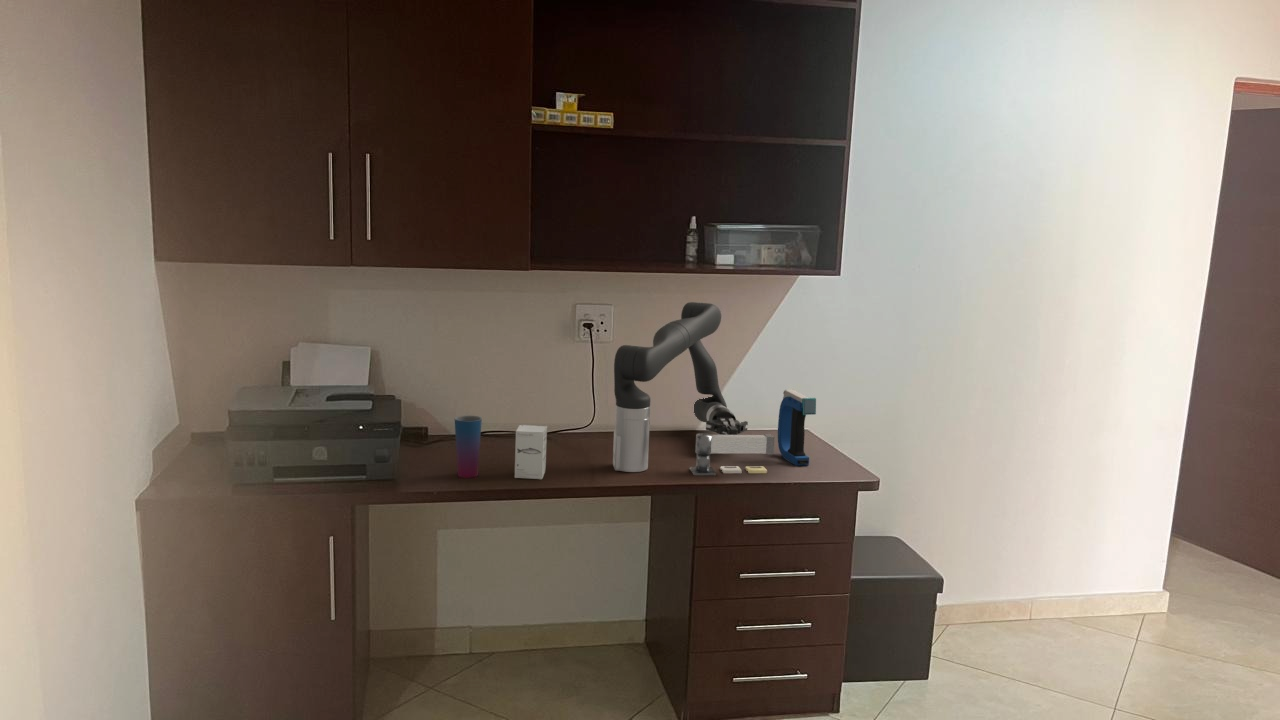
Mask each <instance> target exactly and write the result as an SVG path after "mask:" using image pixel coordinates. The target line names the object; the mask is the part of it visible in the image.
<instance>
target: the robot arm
mask: <svg viewBox="0 0 1280 720" xmlns="http://www.w3.org/2000/svg"><path fill="white" fill-rule="evenodd" d="M721 322H722V313H721V309H720V308H719V307H718V306H717V305H716V304H713V303H709V302H708V303H707V302H694V301H692V302H691V301H689V302H686V303H685V304H684V305H683V307H682V310H681V314H680V319H676V320H672V321H670V322H668V323H666V324H665V325H663V326H662V327H660V328H659V329H657V330H656V332H655V333H654V336H653V339H652V340H653V341H652V346H638V345H628V344H625V345H620V347H618V349H617V350H616V352H615V355H614V360H613V361H614V364H613V373H614V374H613V378H614V387H613V388H614V390H613V391H614V397H615V416H614V417H615V418H614V419H615V420H614V421H615V422H614V431H613V443H612V444H613V446H612V447H613V449H612V466H613V469H614V470H615V471H620V472H626V473H640V472H644V471H647V470H648V468H649V467H648V466H649V449H650V448H649V447H650V445H649V443H650V419H651V418H650V417H651V396H650V394H648V393H646V392H645V391H643V390H641V389H640V388H639V387H638V386H637V385H636V383H635V382H639V383H646V382H647V383H648V382H650V381H652V380H653V379H655V377H657V376H658V374H659V373H661V371H662V370H663V369H664V368H665V367H666V366H667V365H668V364H669V363H670V362H672V361H673V360H674V359H676V358H677V357H679V356H680V355H681V354H683V353H684V352H685V351H686V350H687V349H688V352H689V354H690V357H691V361H692V365H693V372H694V379H695V388H696V391H697V393H699V394H701V395H707V397H708V398H705V399H704V397H702V398H703V399H700V398H698V399H699V400H697V399H696V400H697V401H696V400H695V401H696V402H695V401H694V402H695V404H694V403H693V404H694V412H693V414H694V413H695V414H694V417H695V418H696V417H697V418H696V419H697V420H699V422H703V423H705V430H706V431H710V432H714V433H716V434H717V435H740V434H742V433H745V432H747V431H748V428H749V427H748V425H749V424H748V423H749V421H745V420H744V421H739V420H738V419H737V418H736V416H735V415H734V413H733V412H732V411H731V410H730V409H729V408H728V405H727V403H726V400H725V397H724V396H723V393H722V391H721V389H720V385H719V378H718V377H719V376H718V370H717V365H716V363H715V361H714V359H713V357H712V356H711V354H710V353H709V351H708V350H707V349H706V347H705V346H704V344H703V343H702V339H704V338H706V337H709V336H711V335H712V334H714V333H716V331H717V330H718V329H719V327H720V324H721ZM708 395H709V396H712V397H709V396H708Z"/></svg>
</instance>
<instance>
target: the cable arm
mask: <svg viewBox="0 0 1280 720" xmlns="http://www.w3.org/2000/svg"><path fill="white" fill-rule="evenodd" d="M774 449H775V436H774V435H773V434H771V433H764V434H737V435H728V434H725V435H721V434H710V433H705V432H701V433H696V435H695V449H694V450H695V454H696V455H697V454H701V455H709V454H710V455H713V454H760V455H761V454H764V455H774V454H775V453H774V452H775V450H774Z"/></svg>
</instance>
